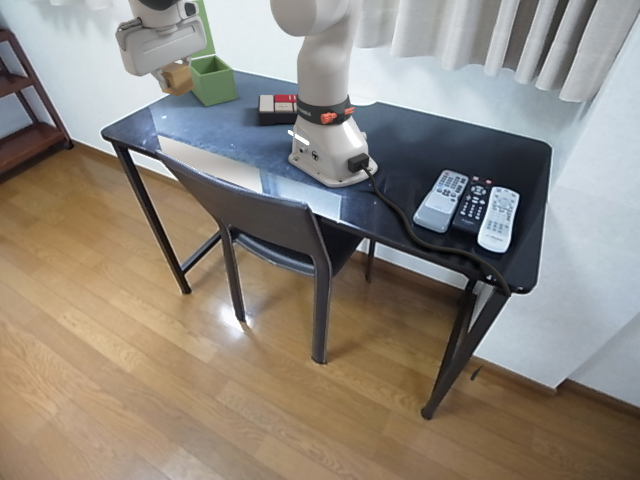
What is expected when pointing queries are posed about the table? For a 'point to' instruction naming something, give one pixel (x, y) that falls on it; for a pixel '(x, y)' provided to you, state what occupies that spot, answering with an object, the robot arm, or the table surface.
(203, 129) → the table surface
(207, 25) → the lid
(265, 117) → the black rectangular box
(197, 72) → the chest
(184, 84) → the block
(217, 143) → the table surface
